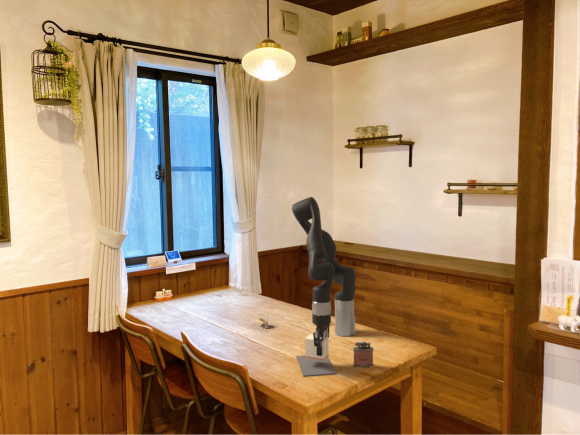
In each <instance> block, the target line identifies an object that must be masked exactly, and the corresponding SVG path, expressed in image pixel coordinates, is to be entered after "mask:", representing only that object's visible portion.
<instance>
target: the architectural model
mask: <svg viewBox="0 0 580 435" xmlns="http://www.w3.org/2000/svg"><path fill="white" fill-rule="evenodd" d="M255 321H257V322H258V323H259V324H261V325H262V328H264V329H269V315H268V314H267V313H265V312H264V311H262V313H261V316H260V317H259V318H257V319H255Z"/></svg>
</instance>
